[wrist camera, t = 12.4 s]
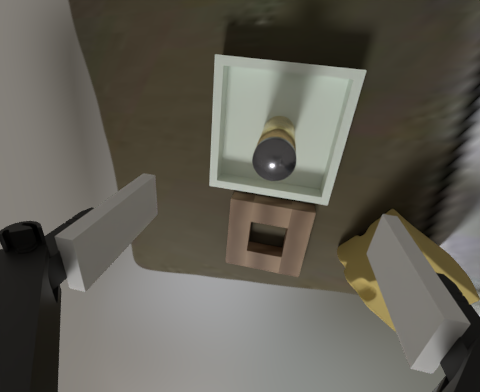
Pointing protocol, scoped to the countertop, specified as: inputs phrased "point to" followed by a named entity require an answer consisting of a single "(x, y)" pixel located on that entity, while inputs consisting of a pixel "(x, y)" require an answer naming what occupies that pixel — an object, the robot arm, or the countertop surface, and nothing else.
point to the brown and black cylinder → (275, 150)
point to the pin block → (276, 214)
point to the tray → (290, 106)
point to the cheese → (364, 278)
